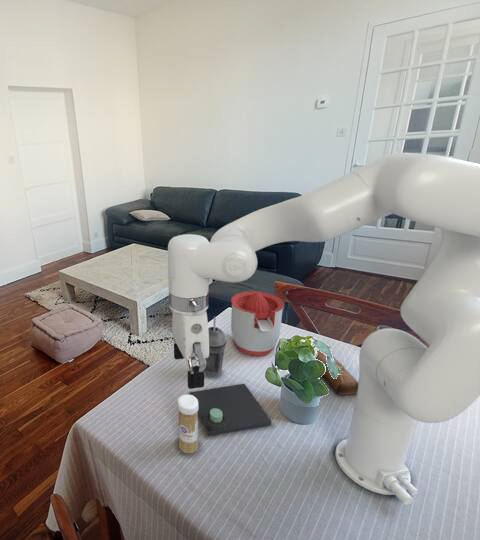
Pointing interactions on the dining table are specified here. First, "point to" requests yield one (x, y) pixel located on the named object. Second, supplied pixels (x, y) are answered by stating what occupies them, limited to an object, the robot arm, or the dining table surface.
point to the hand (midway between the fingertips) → (188, 371)
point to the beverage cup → (215, 351)
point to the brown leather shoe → (339, 378)
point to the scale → (230, 409)
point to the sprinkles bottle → (188, 423)
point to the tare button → (216, 415)
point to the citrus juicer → (256, 322)
